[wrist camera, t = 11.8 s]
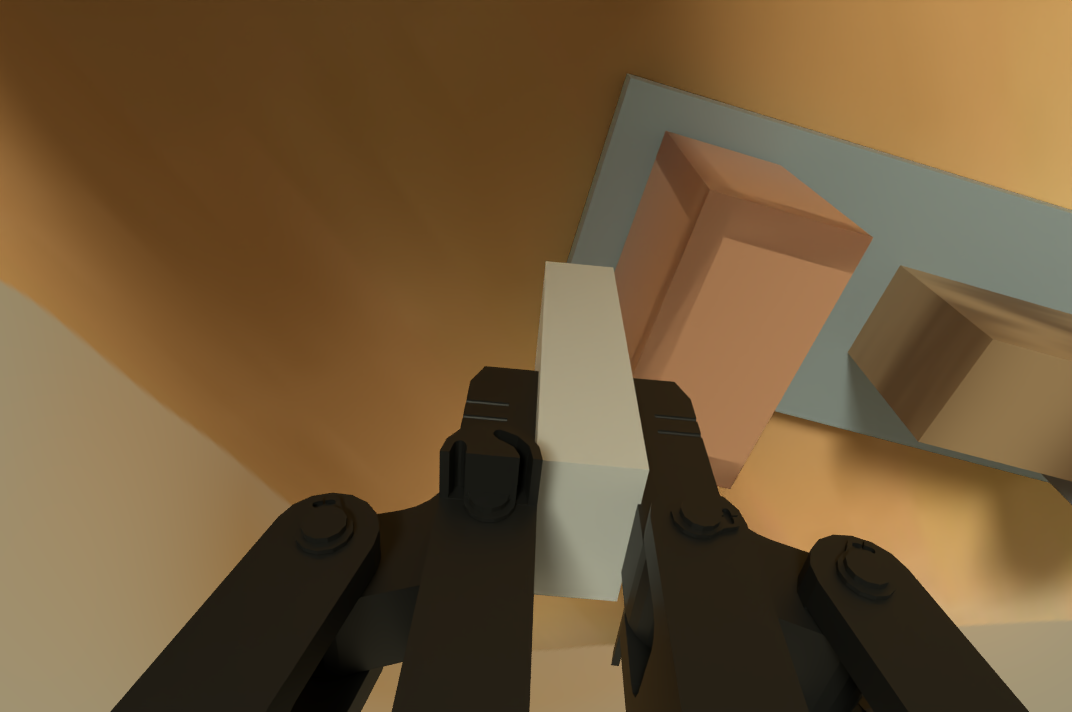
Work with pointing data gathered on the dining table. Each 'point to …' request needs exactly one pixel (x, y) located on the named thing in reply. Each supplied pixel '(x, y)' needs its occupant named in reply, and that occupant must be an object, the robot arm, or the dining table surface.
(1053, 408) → the brown block
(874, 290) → the board
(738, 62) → the dining table surface
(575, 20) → the dining table surface
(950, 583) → the dining table surface
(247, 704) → the robot arm
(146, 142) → the dining table surface
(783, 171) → the block
